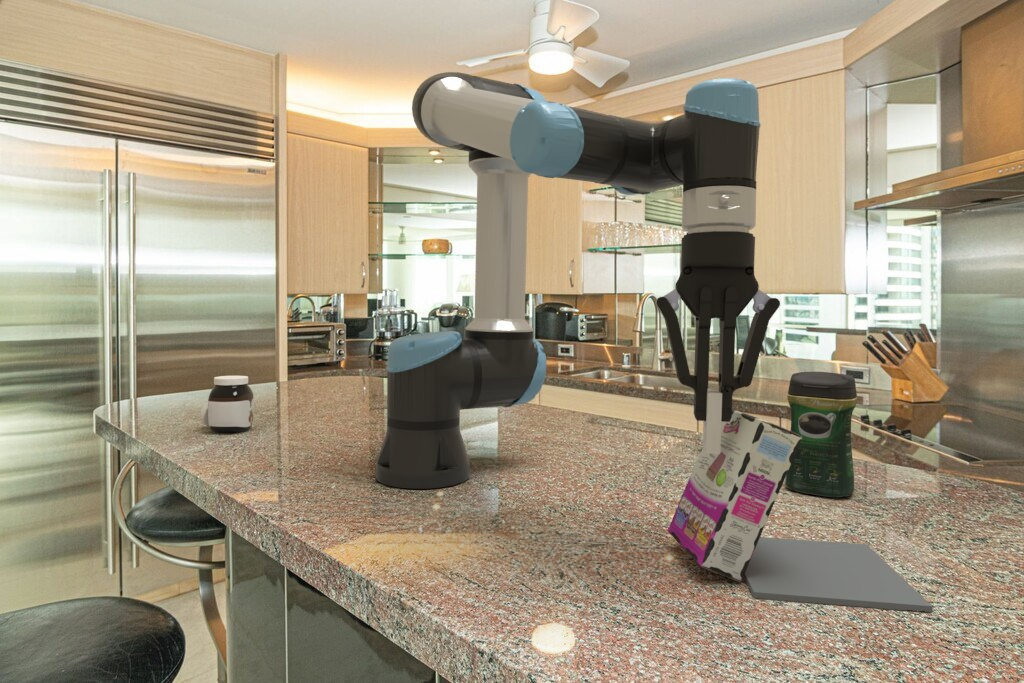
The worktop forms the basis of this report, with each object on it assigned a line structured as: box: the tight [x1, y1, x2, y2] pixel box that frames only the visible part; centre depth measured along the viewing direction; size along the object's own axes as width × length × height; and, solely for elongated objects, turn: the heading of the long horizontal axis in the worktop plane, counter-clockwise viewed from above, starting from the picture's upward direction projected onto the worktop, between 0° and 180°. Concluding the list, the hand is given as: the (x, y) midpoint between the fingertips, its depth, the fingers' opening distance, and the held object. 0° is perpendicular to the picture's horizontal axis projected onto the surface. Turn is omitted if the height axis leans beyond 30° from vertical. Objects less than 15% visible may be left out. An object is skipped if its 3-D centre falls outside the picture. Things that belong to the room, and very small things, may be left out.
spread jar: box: [199, 375, 255, 435], centre depth 141 cm, size 12×11×12 cm
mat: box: [743, 536, 934, 613], centre depth 70 cm, size 16×16×1 cm
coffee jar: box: [784, 371, 858, 498], centre depth 100 cm, size 10×8×19 cm
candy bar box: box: [667, 408, 802, 582], centre depth 71 cm, size 11×5×16 cm, turn 5°
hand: (711, 450), depth 71 cm, fingers closed
